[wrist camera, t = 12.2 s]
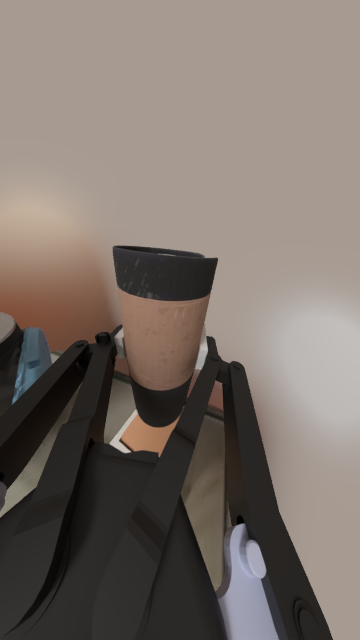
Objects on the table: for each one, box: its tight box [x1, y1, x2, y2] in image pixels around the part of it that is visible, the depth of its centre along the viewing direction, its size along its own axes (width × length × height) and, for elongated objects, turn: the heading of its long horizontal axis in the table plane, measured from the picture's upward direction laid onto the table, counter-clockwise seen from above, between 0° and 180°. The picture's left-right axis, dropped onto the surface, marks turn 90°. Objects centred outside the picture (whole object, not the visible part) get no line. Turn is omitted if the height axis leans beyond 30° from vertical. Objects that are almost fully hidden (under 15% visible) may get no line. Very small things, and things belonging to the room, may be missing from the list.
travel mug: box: [113, 246, 218, 428], centre depth 15 cm, size 8×8×20 cm
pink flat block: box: [121, 410, 183, 457], centre depth 25 cm, size 9×9×3 cm
